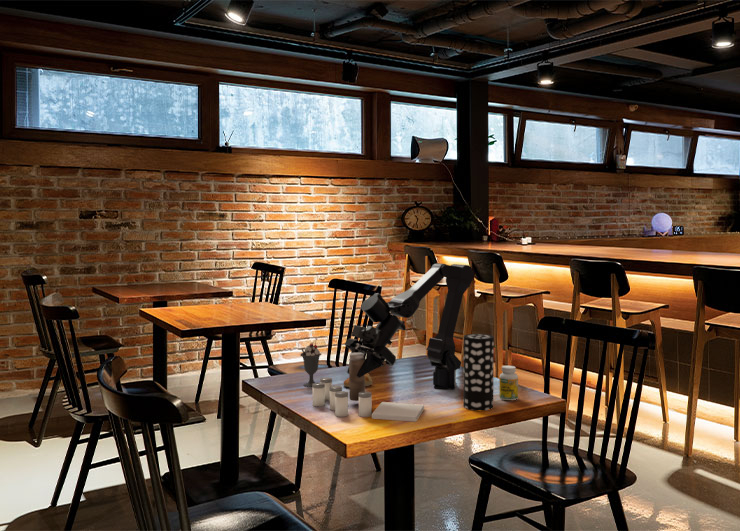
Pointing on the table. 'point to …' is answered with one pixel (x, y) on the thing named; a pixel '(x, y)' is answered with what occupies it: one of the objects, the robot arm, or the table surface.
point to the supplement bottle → (508, 383)
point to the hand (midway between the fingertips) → (353, 375)
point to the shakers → (339, 398)
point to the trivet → (398, 411)
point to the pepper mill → (354, 381)
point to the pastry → (367, 381)
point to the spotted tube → (478, 371)
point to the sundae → (311, 361)
